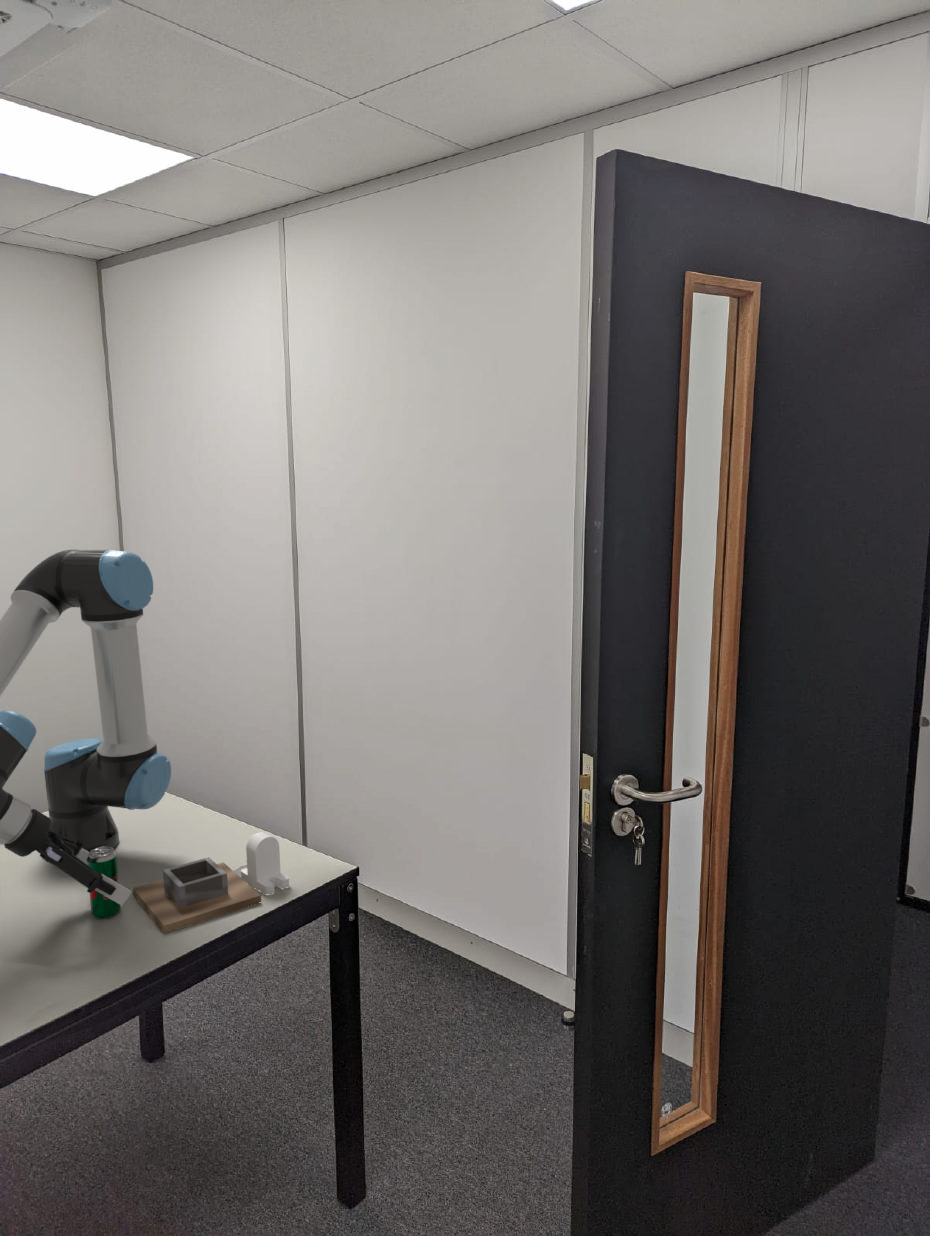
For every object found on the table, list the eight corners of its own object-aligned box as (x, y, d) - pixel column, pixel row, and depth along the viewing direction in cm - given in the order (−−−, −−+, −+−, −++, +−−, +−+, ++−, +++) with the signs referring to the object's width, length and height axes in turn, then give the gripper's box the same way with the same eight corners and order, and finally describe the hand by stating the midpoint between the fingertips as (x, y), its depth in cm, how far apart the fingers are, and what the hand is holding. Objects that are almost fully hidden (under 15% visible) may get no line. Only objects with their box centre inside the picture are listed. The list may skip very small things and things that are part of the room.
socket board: (133, 895, 165) (131, 868, 164) (223, 869, 176) (222, 843, 175) (164, 933, 151) (162, 904, 150) (261, 902, 162) (259, 875, 161)
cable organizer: (263, 871, 175) (261, 824, 173) (290, 887, 168) (288, 838, 166) (240, 879, 171) (237, 832, 170) (266, 896, 164) (264, 846, 163)
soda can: (110, 921, 155) (105, 858, 154) (85, 918, 156) (80, 856, 155) (126, 907, 160) (122, 846, 158) (102, 905, 161) (97, 844, 159)
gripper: (-11, 823, 156) (83, 877, 167) (16, 871, 136) (121, 929, 148) (19, 788, 158) (110, 844, 170) (49, 831, 139) (150, 891, 150)
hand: (115, 884), depth 159 cm, fingers open, 13 cm apart
